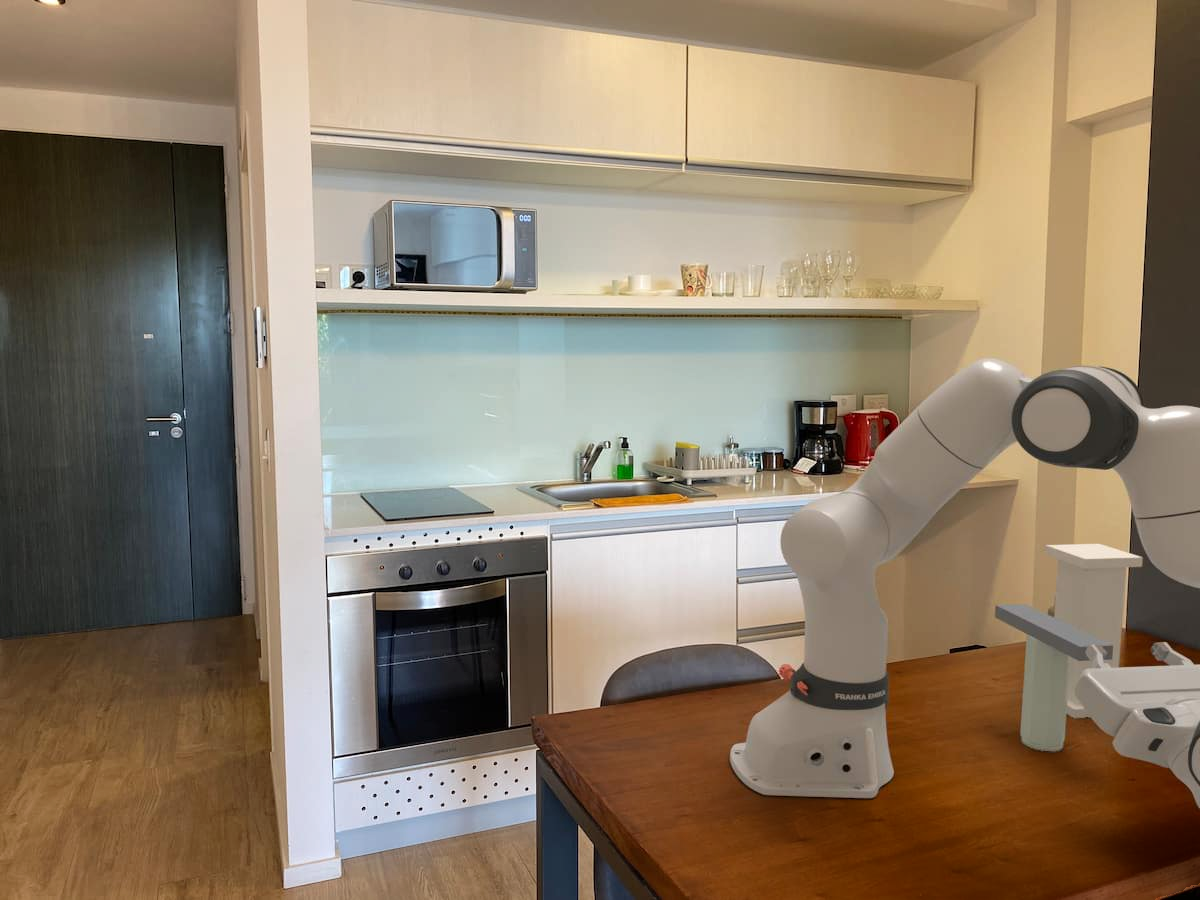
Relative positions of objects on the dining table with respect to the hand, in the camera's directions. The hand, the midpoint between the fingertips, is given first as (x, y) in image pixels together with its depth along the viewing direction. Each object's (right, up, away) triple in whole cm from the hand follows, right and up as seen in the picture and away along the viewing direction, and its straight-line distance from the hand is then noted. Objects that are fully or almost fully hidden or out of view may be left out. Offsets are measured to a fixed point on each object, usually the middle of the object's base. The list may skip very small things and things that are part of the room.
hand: (1124, 646), depth 119 cm
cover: (-2, -2, +15) cm, 16 cm away
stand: (+11, -17, +32) cm, 38 cm away
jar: (-2, -18, +17) cm, 25 cm away
